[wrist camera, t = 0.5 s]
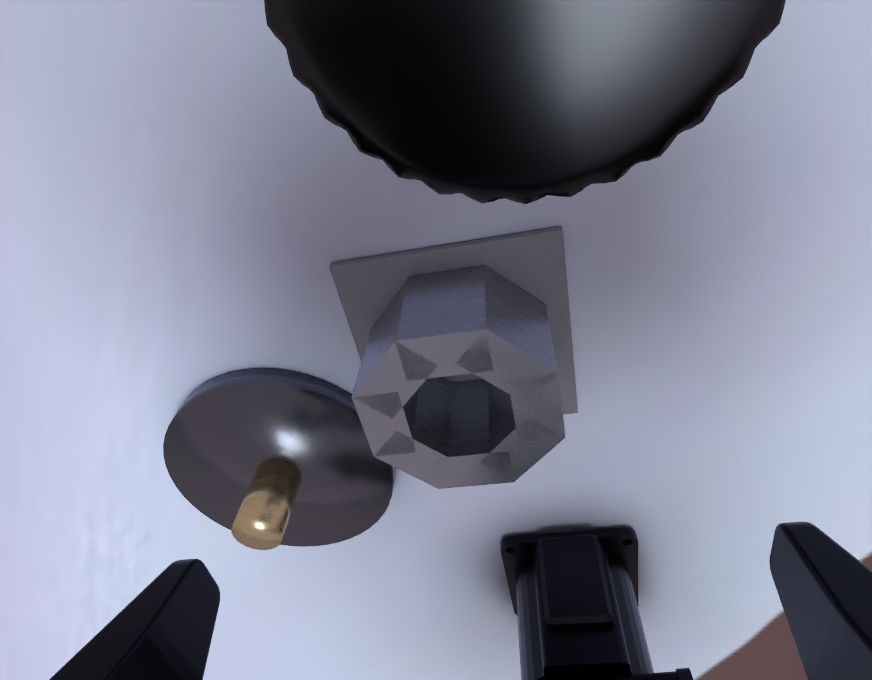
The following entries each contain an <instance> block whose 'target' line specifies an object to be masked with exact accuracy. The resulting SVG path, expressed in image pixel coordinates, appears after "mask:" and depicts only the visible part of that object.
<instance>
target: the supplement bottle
mask: <svg viewBox="0 0 872 680" xmlns="http://www.w3.org/2000/svg"><path fill="white" fill-rule="evenodd" d="M264 2H265V14H266V20H267V26H268V27H269V28H270V29H271V31H272V32H273V33H274V35H275V36H276V37H277V38H278V39H279V40H280V41H281V42H282V43H283V45H284V46H285V47H286V50H287V55H288V59H289V63H290V66H291V70H292V73H293V76H294V77H295V78H296V79H297V80H298V81H299V82H300V83H301V84H303V85H304V86H306V87H307V88H309V89H310V90H311V91H312V92H313V93H314V95H315V97H316V100H317V103H318V105H319V107H320V109H321V111H322V114H323V116H324V118H325V119H327V120H328V121H330V122H331V123H333V124H335V125H337V126H340V127H341V128H343V129H344V130H346V131H347V133H348V134H349V136H350V138H351V139H352V141H353V143H354V144H355V145H356V147H357V148H358V150H359V151H360V152H362V153H364V154H366V155H369V156H372V157H375V158H378V159H381V160H383V161H384V162H385V163H386V165H387V166H388V167H389V168H390V169H391V170H392V171H393V172H394V173H395V174H396V175H397V176H398V177H400V178H405V179H416V180H421V181H422V182H424V183H425V184H426V185H427V186H428V187H430V188H431V189H433V190H434V191H435V192H437V193H438V194H454V193H462V194H464V195H466V196H468V197H470V198H472V199H474V200H476V201H478V202H481V203H486V202H492V201H495V200H497V199H502V198H506V199H509V200H512V201H515V202H520V203H524V204H527V203H530V202H533V201H536V200H538V199H540V198H542V197H544V196H546V195H553V196H564V197H571V196H573V195H575V194H577V193H578V192H580V191H582V190H583V189H584V188H585V187H587V186H588V185H590V184H594V183H608V182H614V181H617V180H618V179H619V178H621V177H622V176H623V175H624V174H626V172H627V171H628V170H629V169H630V168H631V167H632V166H633V165H635V164H637V163H639V162H643V161H649V160H651V159H654V158H657V157H660V156H661V155H662V154H663V153H664V151H665V150H666V149H667V148H668V147H669V146H670V144H671V143H672V142H673V140H674V139H675V138H676V136H677V135H678V134H679V133H681V132H683V131H685V130H688V129H691V128H693V127H694V126H696V125H698V124H699V123H701V122H703V120H704V119H705V117H706V116H707V114H708V113H709V111H710V110H711V108H712V106H713V104H714V102H715V100H716V99H717V97H718V95H720V94H721V93H723V92H724V91H726V90H727V89H729V88H730V87H732V86H733V85H734V84H735V83H737V82H738V81H739V80H740V79H742V78H743V76H744V74H745V72H746V70H747V68H748V65H749V63H750V61H751V58H752V55H753V52H754V50H755V48H756V46H757V45H758V44H759V43H760V42H761V41H762V40H763V39H765V38H766V37H767V36H768V35H769V34H770V33H771V32H772V31H773V30H774V29H775V28H776V27H777V26H778V24H779V23H780V19H781V16H782V13H783V9H784V5H785V0H264Z"/></svg>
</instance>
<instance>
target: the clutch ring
mask: <svg viewBox="0 0 872 680" xmlns="http://www.w3.org/2000/svg"><path fill="white" fill-rule="evenodd" d="M470 373H473V374H475V375H477V376H479V377H480V378H482V379H476V380H467V381H459V382H451V381H449V380H447V379H446V378H444V377H445V376H453V375H461V374H470ZM352 400H353V402H354V405H355V408H356V411H357V413H358V416H359V419H360V421H361V424H362V427H363V429H364V432H365V435H366V437H367V440H368V443H369V445H370V448H371V451H372V454H373V456H374V457H376V458H378V459H380V460H382V461H384V462H386V463H388V464H390V465H392V466H394V467H396V468H398V469H400V470H402V471H404V472H406V473H408V474H410V475H412V476H414V477H416V478H418V479H420V480H422V481H424V482H426V483H428V484H430V485H432V486H434V487H436V488H438V489H441V488H452V487H464V486H475V485H486V484H497V483H509V482H515V481H516V480H517V479H518V478H519V477H520V476H521V475H523V474H524V473H525V472H526V471H527V470H528V469H529V468H531V467H532V466H533V465H534V464H535V463H536V462H537V461H539V460H540V459H541V458H542V457H543V456H544V455H545V454H547V453H548V452H549V451H550V450H551V449H552V448H554V447H555V446H556V445H557V444H558V443H559V442H560V441H562V440H563V439H564V438H565V431H564V421H563V412H562V402H561V392H560V383H559V372H558V367H557V362H556V357H555V351H554V346H553V341H552V336H551V330H550V325H549V320H548V315H547V309H546V304H545V303H544V302H543V301H541V300H540V299H538V298H536V297H535V296H533V295H532V294H530V293H529V292H527V291H526V290H524V289H522V288H521V287H519V286H518V285H516V284H515V283H513V282H511V281H510V280H508V279H507V278H505V277H504V276H502V275H501V274H499V273H497V272H496V271H494V270H493V269H491V268H490V267H488V266H487V265H485V264H483V265H476V266H469V267H463V268H456V269H450V270H443V271H437V272H430V273H424V274H417V275H411V276H409V277H408V278H407V279H406V281H405V282H404V283H403V285H402V286H401V288H400V289H399V290H398V292H397V293H396V294H395V296H394V297H393V299H392V300H391V301H390V303H389V304H388V305H387V307H386V308H385V310H384V311H383V312H382V314H381V315H380V316H379V318H378V319H377V321H376V322H375V323H374V325H373V326H372V327H371V331H370V334H369V338H368V341H367V345H366V348H365V352H364V355H363V359H362V362H361V366H360V370H359V373H358V377H357V380H356V384H355V387H354V391H353V394H352Z"/></svg>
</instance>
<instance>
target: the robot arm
mask: <svg viewBox="0 0 872 680" xmlns="http://www.w3.org/2000/svg"><path fill="white" fill-rule="evenodd" d="M500 545H501V554H502V559H503V563H504V568H505V572H506V577H507V581H508V585H509V590H510V594H511V599H512V603H513V608H514V612H515V614H516V615H518V630H519V647H520V664H521V680H693V678H692V675H691V672H690V669H689V668H682V669H676V672H663V673H654V672H653V668H652V663H651V659H650V655H649V651H648V647H647V643H646V639H645V635H644V631H643V626H642V622H641V618H640V614H639V610H638V540H637V536H636V533H635V531H634V530H632V529H627V528H624V529H610V530H596V531H583V532H569V533H555V534H542V535H528V536H514V537H506V538H504V539H502V540H501V543H500ZM770 569H771V574H772V577H773V580H774V583H775V586H776V588H777V591H778V594H779V597H780V600H781V603H782V606H783V609H784V612H785V615H786V617H787V620H788V623H789V626H790V629H791V632H792V634H793V638H794V641H795V643H796V646H797V649H798V652H799V655H800V658H801V661H802V664H803V667H804V669H805V672H806V675H807V677H808V680H872V571H871V570H870V569H869V568H867V567H866V566H865V565H864V564H862V563H861V562H860V561H859V560H857V559H856V558H855V557H854V556H852V555H851V554H850V553H849V552H847V551H846V550H845V549H844V548H842V547H841V546H840V545H839V544H837V543H836V542H835V541H834V540H832V539H831V538H830V537H829V536H827V535H826V534H825V533H824V532H822V531H821V530H820V529H819V528H817V527H816V526H815V525H813V524H811V523H808V522H791V523H781V524H779V525H778V526H777V527H776V529H775V534H774V539H773V544H772V549H771V554H770ZM219 603H220V591H219V587H218V585H217V584H216V582H215V581H214V579H213V577H212V576H211V574H210V573H209V571H208V570H207V568H206V566H205V565H204V563H203V562H202V561H200V560H198V559H188V560H178V561H175V562H173V563H172V564H171V565H169V566H168V567H167V568H166V569H165V570H164V571H163V572H162V573H161V574H160V575H159V576H158V577H157V578H156V579H155V580H154V581H153V582H152V583H150V584H149V585H148V586H147V587H146V588H145V589H144V590H143V591H142V592H141V593H140V594H139V595H138V596H137V597H136V598H135V599H134V600H133V601H132V602H130V603H129V604H128V605H127V606H126V607H125V608H124V609H123V610H122V611H121V612H120V613H119V614H118V615H117V616H116V617H115V618H114V619H113V620H112V621H110V622H109V623H108V624H107V625H106V626H105V627H104V628H103V629H102V630H101V631H100V632H99V633H98V634H97V635H96V636H95V637H94V638H93V639H92V640H91V641H89V642H88V643H87V644H86V645H85V646H84V647H83V648H82V649H81V650H80V651H79V652H78V653H77V654H76V655H75V656H74V657H73V658H72V659H71V660H69V661H68V662H67V663H66V664H65V665H64V666H63V667H62V668H61V669H60V670H59V671H58V672H57V673H56V674H55V675H54V676H53V677H52V678H51V679H50V680H203V675H204V671H205V666H206V662H207V657H208V653H209V648H210V644H211V639H212V634H213V630H214V625H215V621H216V616H217V612H218V607H219Z"/></svg>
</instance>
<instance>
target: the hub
mask: <svg viewBox="0 0 872 680" xmlns="http://www.w3.org/2000/svg"><path fill="white" fill-rule="evenodd" d="M163 448H164V459H165V464H166V467H167V470H168V472H169V475H170V477H171V478H172V480H173V482H174V484H175V485H176V487H177V488H178V489H179V491H180V492H181V493H182V495H183V496H184V497H185V498H186V499H187V500H188V501H189V502H190V503H191V504H192V505H193V506H194V507H196V508H197V509H198V510H199V511H200V512H202V513H203V514H204V515H206V516H207V517H209V518H210V519H212V520H213V521H215V522H217V523H219V524H220V525H222V526H224V527H226V528H228V529H230V530H231V531H232V534H233V536H234V538H235V539H236V540H237V541H239V542H240V543H241V544H243V545H245V546H247V547H250V548H253V549H259V550H268V549H273V548H275V547H277V546H278V545H279V544H280V545H288V546H319V545H327V544H332V543H337V542H341V541H344V540H347V539H350V538H352V537H354V536H356V535H359V534H361V533H362V532H364V531H365V530H367V529H369V528H370V527H371V526H372V525H374V524H375V523H376V522H377V521H378V520H379V519H380V517H381V516H382V515H383V514H384V512H385V510H386V509H387V507H388V505H389V502H390V499H391V496H392V490H393V484H394V478H395V470H396V467H394V466H392V465H390V464H388V463H386V462H384V461H382V460H380V459H378V458H376V457H374V456H373V454H372V451H371V448H370V445H369V443H368V440H367V437H366V435H365V432H364V429H363V427H362V424H361V421H360V419H359V416H358V413H357V411H356V408H355V405H354V402H353V400H352V395H350V394H349V393H347V392H345V391H344V390H342V389H340V388H339V387H337V386H334V385H332V384H330V383H328V382H326V381H324V380H321V379H318V378H315V377H312V376H309V375H306V374H302V373H298V372H294V371H288V370H281V369H267V368H256V369H244V370H238V371H233V372H229V373H226V374H223V375H220V376H217V377H215V378H213V379H211V380H209V381H207V382H205V383H203V384H202V385H201V386H199V387H198V388H196V389H195V390H194V391H193V392H192V393H191V394H190V395H189V396H188V397H187V399H186V400H185V402H184V403H183V405H182V406H181V408H180V409H179V411H178V412H177V414H176V415H175V417H174V419H173V420H172V422H171V423H170V425H169V427H168V429H167V432H166V434H165V439H164V445H163Z"/></svg>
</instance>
